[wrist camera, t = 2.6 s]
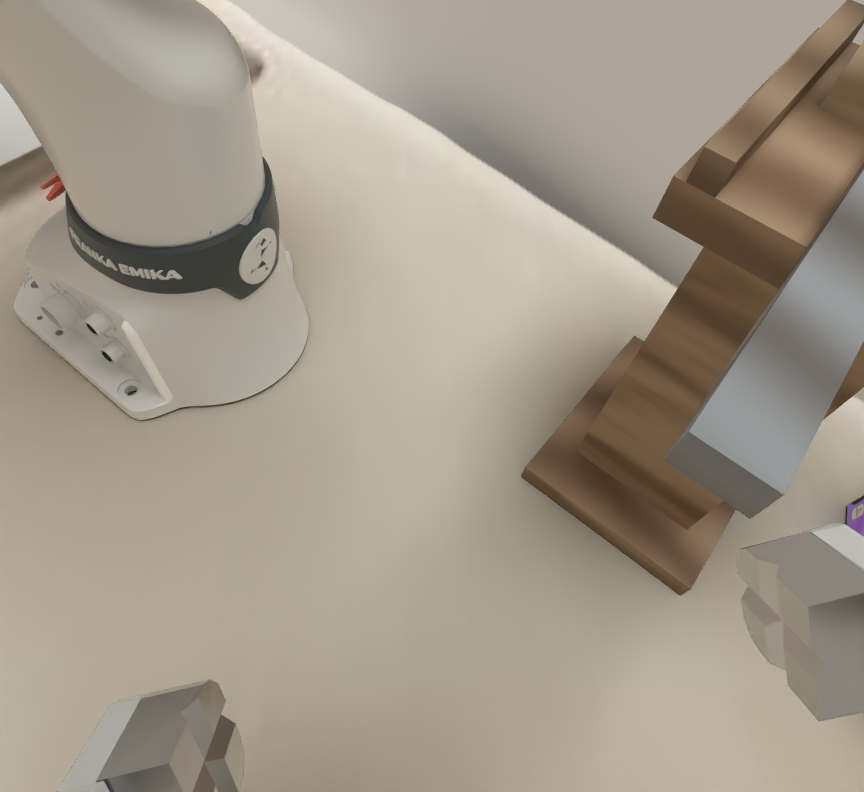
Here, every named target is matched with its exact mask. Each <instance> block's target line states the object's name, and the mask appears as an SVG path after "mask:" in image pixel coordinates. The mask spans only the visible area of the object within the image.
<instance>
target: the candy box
mask: <svg viewBox="0 0 864 792" xmlns="http://www.w3.org/2000/svg"><path fill="white" fill-rule="evenodd" d="M847 526H848V527H850V528H851V529H853V530H854V531H856V532H857V533H859V534H860V535H862V536H863V537H864V496H862V497H861V498H859V499H857V500H855V501H854V502H852V503H850V504H848V506H847Z"/></svg>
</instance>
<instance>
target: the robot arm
mask: <svg viewBox="0 0 864 792" xmlns="http://www.w3.org/2000/svg"><path fill="white" fill-rule="evenodd" d="M0 83H1V84H2V85H3V86H4V88H5V89H6V90H7V92H8V93H9V94H10V96H11V97H12V99H13V100H14V101H15V103H16V104H17V106H18V107H19V109H20V110H21V112H22V114H23V115H24V117H25V118H26V120H27V121H28V123H29V125H30V126H31V128H32V129H33V131H34V133H35V135H36V136H37V138H38V140H39V141H40V143H41V145H42V146H43V148H44V150H45V152H46V153H47V155H48V157H49V159H50V161H51V162H52V164H53V166H54V168H55V170H56V172H57V174H55V175H54V176H52V177H51V178H50V179H49V180H47V181H46V182H45V183H44V184H43V185H41V186H40V187H41V189H46V188H48V187H50V186H51V185H53V184H55V183H56V184H55V185H54V187H53V188H52V189H51V191H50V192H49V194H48V195H47V196H46V199H47V200H48V201H51V200H53V199H54V198H56V197H57V196H59V195H60V194H61V193H63V192H64V191H65V190H66V206H64V207H63V208H62V209H61V210H59V211H58V212H57V213H55V214H54V215H53V216H52V217H51V218H50V219H49V220H48V221H47V222H46V223H45V224H44V225H43V226H42V227H41V228H40V229H39V230H38V231H37V233H36V234H35V235H34V237H33V238H32V240H31V242H30V243H29V246H28V248H27V252H26V265H27V267H28V269H29V271H30V274H29V275H28V277H27V278H26V279H25V281H24V282H23V284H22V286H21V287H20V289H19V291H18V293H17V295H16V298H15V301H14V304H13V309H14V311H15V313H16V315H17V317H18V318H19V319H20V320H21V321H22V322H23V323H24V324H25V325H26V326H27V327H28V328H29V329H31V330H32V331H33V332H34V333H35V334H36V335H37V336H39V337H40V338H41V339H42V340H43V341H44V342H45V343H47V344H48V345H49V346H50V347H51V348H52V349H53V350H55V351H56V352H57V353H58V354H59V355H60V356H62V357H63V358H64V359H65V360H66V361H67V362H68V363H70V364H71V365H72V366H73V367H74V368H75V369H76V370H78V371H79V372H80V373H81V374H82V375H83V376H84V377H86V378H87V379H88V380H89V381H90V382H91V383H92V384H94V385H95V386H96V387H97V388H98V389H99V390H100V391H102V392H103V393H104V394H105V395H106V396H107V397H108V398H110V399H111V400H112V401H113V402H114V403H115V404H116V405H118V406H119V407H120V408H121V409H122V410H123V411H124V412H126V413H127V414H128V415H129V416H130V417H132V418H134V419H138V420H145V419H150V418H154V417H157V416H160V415H163V414H166V413H168V412H171V411H173V410H176V409H178V408H182V407H189V406H206V405H218V404H225V403H229V402H234V401H237V400H241V399H244V398H247V397H249V396H252V395H254V394H256V393H258V392H260V391H262V390H264V389H266V388H268V387H269V386H271V385H272V384H274V383H275V382H277V381H278V380H279V379H280V378H282V377H283V376H284V375H285V374H286V373H287V372H288V371H289V370H290V369H291V368H292V366H293V365H294V364H295V363H296V361H297V360H298V358H299V357H300V355H301V353H302V351H303V349H304V347H305V344H306V341H307V337H308V330H309V320H308V314H307V310H306V307H305V304H304V302H303V300H302V298H301V296H300V294H299V292H298V290H297V287H296V285H295V282H294V279H293V263H292V260H291V256H290V254H289V252H288V251H287V250H286V249H284V247H283V243H282V240H281V236H280V233H279V215H278V209H277V202H276V196H275V185H274V182H273V179H272V175H271V171H270V169H269V166H268V164H267V162H266V161H265V159H264V158H263V156H262V153H261V146H260V140H259V133H258V126H257V120H256V113H255V107H254V100H253V94H252V88H251V81H250V75H249V68H248V65H247V62H246V60H245V57H244V55H243V53H242V50H241V48H240V47H239V45H238V43H237V41H236V39H235V38H234V36H233V35H232V33H231V32H230V31H229V29H228V28H227V27H226V25H225V24H224V23H223V22H222V21H221V20H220V19H219V18H218V17H217V16H216V15H215V14H214V13H213V12H211V11H210V10H209V9H208V8H206V7H205V6H204V5H202V4H201V3H199V2H197V1H196V0H0ZM58 181H59V182H58ZM57 182H58V183H57ZM38 287H39V288H38ZM132 391H137V392H136V393H135V394H134V395H130V396H129V395H128V394H129V393H130V392H132ZM736 564H737V573H738V575H739V576H740V577H741V578H742V579H743V580H744V581H745V582H746V583H747V585H748V587H747V589H746V591H745V593H744V595H743V596H742V598H741V604H742V610H743V616H744V620H745V623H746V625H747V628H748V631H749V633H750V636H751V638H752V640H753V641H754V643H755V645H756V646H757V648H758V650H759V651H760V652H761V654H762V655H763V656H764V657H765V659H766V660H767V661H768V662H769V663H770V664H773V665H775V666H777V667H780V668H782V669H784V670H786V673H787V681H788V686H789V687H790V688H791V690H792V691H793V692H794V693H795V694H796V695H797V697H798V698H799V699H800V700H801V701H802V702H803V704H804V705H805V706H806V707H807V708H808V709H809V711H810V712H811V713H812V714H813V715H814V716H815V718H816V719H817V720H818V721H824V720H828V719H833V718H838V717H843V716H847V715H852V714H857V713H862V712H864V537H863V536H862V535H860V534H859V533H857V532H856V531H854V530H853V529H851V528H850V527H848V526H847V525H845V524H841V523H832V524H829V525H825V526H822V527H818V528H814V529H811V530H807V531H804V532H803V533H800V534H796V535H792V536H788V537H784V538H781V539H777V540H773V541H769V542H765V543H761V544H758V545H754V546H750V547H746V548H742V549H738V550H737V556H736ZM225 701H226V700H225V698H224V695H223V693H222V691H221V689H220V687H219V685H218V683H217V682H214V681H212V680H205V681H201V682H197V683H192V684H188V685H183V686H179V687H174V688H170V689H165V690H161V691H156V692H152V693H149V694H143V695H139V696H135V697H131V698H127V699H123V700H119V701H117V702H115V703H113V704H112V705H110V706H109V707H108V709H107V710H106V712H105V714H104V715H103V717H102V718H101V720H100V722H99V723H98V725H97V727H96V728H95V730H94V732H93V733H92V735H91V736H90V738H89V740H88V741H87V743H86V745H85V746H84V748H83V750H82V751H81V753H80V754H79V756H78V758H77V759H76V761H75V763H74V764H73V766H72V768H71V769H70V771H69V772H68V774H67V776H66V777H65V779H64V781H63V782H62V784H61V786H60V787H59V789H58V790H57V792H239V790H240V786H241V782H242V778H243V772H244V751H243V746H242V741H241V736H240V734H239V731H238V729H237V726H236V724H235V723H233V722H232V721H230V720H229V719H227V718H226V717H224V716H223V715H221V713H222V710H223V707H224V704H225Z"/></svg>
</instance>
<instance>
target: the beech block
mask: <svg viewBox="0 0 864 792" xmlns="http://www.w3.org/2000/svg"><path fill="white" fill-rule="evenodd" d="M819 108H821V109H823V110H825V111H827V112H829V113H831V114H833V115H836V116H838V117H840V118H842V119H844V120H846V121H848V122H850V123H853V124H855V125H857V126H859V127H861V128H863V129H864V41H863V42H862V44H861V45H860V47H859V48H858V50H857V51H856V53H855V54H854V56H853V57H852V59H851V60H850V62H849V63H848V65H847V66H846V68H845V69H844V71H843V72H842V74H841V75H840V77H839V78H838V80H837V81H836V83H835V84H834V86H833V87H832V89H831V90H830V92H829V93H828V95H827V96H826V98H825V99H824V101H823V102H822V104H821V105H820V107H819ZM863 342H864V163H863V165H862V166H861V168H860V169H859V171H858V172H857V174H856V175H855V177H854V178H853V180H852V181H851V183H850V184H849V186H848V187H847V189H846V190H845V192H844V193H843V195H842V196H841V197H840V199H839V200H838V202H837V203H836V205H835V206H834V208H833V209H832V211H831V212H830V214H829V215H828V217H827V218H826V220H825V221H824V223H823V224H822V226H821V227H820V229H819V230H818V232H817V233H816V234H815V236H814V237H813V239H812V240H811V242H810V243H809V245H808V246H807V248H806V249H805V251H804V252H803V254H802V255H801V257H800V258H799V260H798V261H797V263H796V264H795V266H794V267H793V268H792V270H791V271H790V273H789V274H788V276H787V277H786V279H785V280H784V282H783V283H782V285H781V286H780V288H779V289H778V291H777V292H776V294H775V295H774V297H773V298H772V300H771V301H770V303H769V304H768V305H767V307H766V308H765V310H764V311H763V313H762V314H761V316H760V317H759V319H758V320H757V322H756V323H755V325H754V326H753V328H752V329H751V331H750V332H749V334H748V335H747V337H746V338H745V339H744V341H743V342H742V344H741V345H740V347H739V348H738V350H737V351H736V353H735V354H734V356H733V357H732V359H731V360H730V362H729V363H728V365H727V366H726V368H725V369H724V371H723V372H722V374H721V375H720V376H719V378H718V379H717V381H716V382H715V384H714V385H713V387H712V388H711V390H710V391H709V393H708V394H707V396H706V397H705V399H704V400H703V402H702V403H701V405H700V406H699V408H698V409H697V410H696V412H695V413H694V415H693V416H692V418H691V419H690V421H689V422H688V424H687V425H686V427H685V428H684V430H683V431H682V433H681V434H680V436H679V437H678V439H677V440H676V442H675V443H674V445H673V446H672V447H671V449H670V450H669V452H668V453H667V455H666V456H665V458H664V459H663V460H665V461H666V462H668V463H669V464H671V465H672V466H674V467H675V468H677V469H678V470H680V471H681V472H682V473H684V474H685V475H687V476H688V477H690V478H691V479H693V480H694V481H696V482H697V483H699V484H700V485H701V486H703V487H704V488H706V489H707V490H709V491H710V492H712V493H713V494H715V495H716V496H718V497H719V498H720V499H722V500H723V501H725V502H726V503H728V504H729V505H731V506H732V507H734V508H735V509H737V510H738V511H739V512H741V513H742V514H744V515H745V516H747V517H748V518H752V517H753V516H755V515H756V514H757V513H759V512H760V511H762V510H763V509H765V508H766V507H767V506H769V505H770V504H772V503H773V502H774V501H776V500H777V499H779V498H780V497H782V496H783V495H784V494H785V492H786V490H787V488H788V486H789V484H790V482H791V480H792V478H793V476H794V474H795V473H796V471H797V469H798V467H799V465H800V463H801V461H802V459H803V457H804V455H805V453H806V451H807V449H808V448H809V446H810V444H811V442H812V440H813V438H814V436H815V434H816V432H817V430H818V428H819V426H820V424H821V422H822V421H823V419H824V417H825V415H826V413H827V411H828V409H829V407H830V405H831V403H832V401H833V399H834V397H835V395H836V394H837V392H838V390H839V388H840V386H841V384H842V382H843V380H844V378H845V376H846V374H847V372H848V370H849V369H850V367H851V365H852V363H853V361H854V359H855V357H856V355H857V353H858V351H859V349H860V347H861V345H862V343H863Z"/></svg>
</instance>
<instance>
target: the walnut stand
mask: <svg viewBox="0 0 864 792" xmlns="http://www.w3.org/2000/svg"><path fill="white" fill-rule="evenodd" d="M863 23H864V5H862V4H859V3H857V2H855V1H852V0H847V1H846V2H845V3H844V4H843V5H842V6H841V7H840V8H839V9H838V10H837V11H836V12H835V13H834V14H833V15H832V16H831V17H830V18H829V19H828V21H826V22H825V23H824V24H823V26H821V27H820V28H818V29H817V30H816V31H815V32H814V33H813V34H812V35H811V36H810V37H809V38H808V39H807V40H806V41H805V42H804V43H803V44H802V45H801V46H800V47H799V48H798V49H797V50H796V51H795V52H794V53H793V54H792V55H791V56H790V57H789V58H788V59H787V60H786V61H785V62H784V64H783V65H781V66H780V68H779V69H778V70H777V71H776V72H775V73H774V74H773V75H772V76H771V77H770V78H769V79H768V80H767V81H766V82H765V83H764V84H763V85H762V86H761V87H760V88H759V89H758V90H757V91H756V92H755V93H754V94H753V95H752V96H751V97H750V98H749V99H748V100H747V101H746V102H745V103H744V104H743V105H742V106H741V107H740V108H739V109H738V110H737V111H736V113H734V115H733V116H732V117H731V118H730V119H729V120H728V121H727V122H726V123H725V124H724V125H723V126H722V127H721V128H720V129H719V130H718V131H717V132H716V133H715V134H714V135H713V136H712V137H711V138H710V139H709V140H708V141H707V142H706V143H705V144H704V145H703V146H702V147H701V148H700V149H699V150H698V151H697V152H696V153H695V154H694V156H693V157H691V158H690V159H689V161H688V162H687V163H686V164H685V165H684V166H683V167H682V168H681V169H680V170H679V171H678V172H677V173H676V174H675V175H674V176H673V178H672V180H671V182H670V184H669V186H668V188H667V190H666V192H665V194H664V196H663V198H662V200H661V202H660V204H659V206H658V208H657V210H656V212H655V214H654V216H653V218H654V219H656V220H658V221H659V222H661V223H663V224H665V225H666V226H668V227H670V228H672V229H673V230H675V231H677V232H679V233H680V234H682V235H684V236H686V237H688V238H689V239H691V240H693V241H695V242H696V243H698V244H700V245H702V246H703V247H704V248H703V249H702V251H701V252H700V254H699V256H698V257H697V259H696V261H695V262H694V264H693V265H692V267H691V269H690V270H689V272H688V273H687V275H686V276H685V278H684V280H683V281H682V283H681V284H680V286H679V288H678V289H677V291H676V292H675V294H674V295H673V297H672V299H671V300H670V302H669V303H668V305H667V307H666V308H665V310H664V311H663V313H662V315H661V316H660V318H659V319H658V321H657V323H656V324H655V326H654V327H653V329H652V330H651V332H650V334H649V335H648V337H647V338H646V340H645V342H643V341H642V340H640V339H639V338H637V337H635V336H634V337H633V338H632V339H631V340H630V342H629V343H628V344H627V345H626V346H625V348H624V349H623V350H622V351H621V352H620V354H619V355H618V356H617V357H616V359H615V360H614V361H613V362H612V363H611V365H610V366H609V367H608V368H607V369H606V371H605V372H604V373H603V374H602V376H601V377H600V378H599V379H598V380H597V382H596V383H595V384H594V385H593V386H592V388H591V389H590V390H589V391H588V393H587V394H586V395H585V396H584V397H583V399H582V400H581V401H580V402H579V403H578V405H577V406H576V407H575V408H574V409H573V411H572V412H571V413H570V414H569V416H568V417H567V418H566V419H565V420H564V422H563V423H562V424H561V425H560V426H559V428H558V429H557V430H556V431H555V433H554V434H553V435H552V436H551V437H550V439H549V440H548V441H547V442H546V443H545V445H544V446H543V447H542V448H541V450H540V451H539V452H538V453H537V454H536V456H535V457H534V458H533V459H532V460H531V462H530V463H529V464H528V465H527V467H526V468H525V470H524V472H523V474H522V476H521V477H523V478H524V479H525V480H527V481H528V482H529V483H531V484H532V485H533V486H535V487H536V488H537V489H539V490H540V491H542V492H543V493H544V494H546V495H547V496H548V497H550V498H551V499H552V500H554V501H555V502H556V503H558V504H559V505H560V506H562V507H563V508H564V509H566V510H567V511H568V512H570V513H571V514H572V515H574V516H575V517H576V518H578V519H579V520H580V521H582V522H583V523H584V524H586V525H587V526H588V527H590V528H591V529H592V530H594V531H595V532H596V533H598V534H599V535H600V536H602V537H603V538H604V539H606V540H607V541H608V542H610V543H611V544H612V545H614V546H615V547H616V548H618V549H619V550H620V551H622V552H623V553H625V554H626V555H627V556H629V557H630V558H631V559H633V560H634V561H635V562H637V563H638V564H639V565H641V566H642V567H643V568H645V569H646V570H647V571H649V572H650V573H651V574H653V575H654V576H655V577H657V578H658V579H659V580H661V581H662V582H663V583H665V584H666V585H667V586H669V587H670V588H671V589H673V590H674V591H675V592H677V593H678V594H679V595H682V594H684V593H685V592H687V591H688V590H690V589H691V588H692V586H693V584H694V582H695V581H696V579H697V577H698V575H699V573H700V572H701V570H702V568H703V566H704V565H705V563H706V561H707V559H708V557H709V556H710V554H711V552H712V550H713V549H714V547H715V545H716V543H717V541H718V540H719V538H720V536H721V534H722V533H723V531H724V529H725V527H726V525H727V524H728V522H729V520H730V518H731V517H732V515H733V513H734V511H735V508H734V507H732V506H731V505H729V504H728V503H726V502H725V501H723V500H722V499H720V498H719V497H718V496H716V495H715V494H713V493H712V492H710V491H709V490H707V489H706V488H704V487H703V486H701V485H700V484H699V483H697V482H696V481H694V480H693V479H691V478H690V477H688V476H687V475H685V474H684V473H682V472H681V471H680V470H678V469H677V468H675V467H674V466H672V465H671V464H669V463H668V462H666V461H665V460H663V459H664V458H665V456H666V455H667V453H668V452H669V450H670V449H671V447H672V446H673V445H674V443H675V442H676V440H677V439H678V437H679V436H680V434H681V433H682V431H683V430H684V428H685V427H686V425H687V424H688V422H689V421H690V419H691V418H692V416H693V415H694V413H695V412H696V410H697V409H698V408H699V406H700V405H701V403H702V402H703V400H704V399H705V397H706V396H707V394H708V393H709V391H710V390H711V388H712V387H713V385H714V384H715V382H716V381H717V379H718V378H719V376H720V375H721V374H722V372H723V371H724V369H725V368H726V366H727V365H728V363H729V362H730V360H731V359H732V357H733V356H734V354H735V353H736V351H737V350H738V348H739V347H740V345H741V344H742V342H743V341H744V339H745V338H746V337H747V335H748V334H749V332H750V331H751V329H752V328H753V326H754V325H755V323H756V322H757V320H758V319H759V317H760V316H761V314H762V313H763V311H764V310H765V308H766V307H767V305H768V304H769V303H770V301H771V300H772V298H773V297H774V295H775V294H776V292H777V291H778V289H779V288H780V286H781V285H782V283H783V282H784V280H785V279H786V277H787V276H788V274H789V273H790V271H791V270H792V268H793V267H794V266H795V264H796V263H797V261H798V260H799V258H800V257H801V255H802V254H803V252H804V251H805V249H806V248H807V246H808V245H809V243H810V242H811V240H812V239H813V237H814V236H815V234H816V233H817V232H818V230H819V229H820V227H821V226H822V224H823V223H824V221H825V220H826V218H827V217H828V215H829V214H830V212H831V211H832V209H833V208H834V206H835V205H836V203H837V202H838V200H839V199H840V197H841V196H842V195H843V193H844V192H845V190H846V189H847V187H848V186H849V184H850V183H851V181H852V180H853V178H854V177H855V175H856V174H857V172H858V171H859V169H860V168H861V166H862V165H863V163H864V129H863V128H861V127H859V126H857V125H855V124H853V123H850V122H848V121H846V120H844V119H842V118H840V117H838V116H836V115H833V114H831V113H829V112H827V111H825V110H823V109H821V108H819V107H820V105H821V104H822V102H823V101H824V99H825V98H826V96H827V95H828V93H829V92H830V90H831V89H832V87H833V86H834V84H835V83H836V81H837V80H838V78H839V77H840V75H841V74H842V72H843V71H844V69H845V68H846V66H847V65H848V63H849V62H850V60H851V59H852V57H853V56H854V54H855V53H856V51H857V50H858V48H859V47H860V45H858V44H855V43H853V42H852V41H853V39H854V38H855V36H856V35H857V33H858V31H859V30H860V28H861V27H862V25H863ZM863 387H864V342H863V343H862V345H861V347H860V349H859V351H858V353H857V355H856V357H855V359H854V361H853V363H852V365H851V367H850V369H849V370H848V372H847V374H846V376H845V378H844V380H843V382H842V384H841V386H840V388H839V390H838V392H837V394H836V395H835V397H834V399H833V401H832V403H831V405H830V407H829V409H828V411H827V413H826V415H825V417H824V419H825V418H826V417H827V416H829V415H830V414H831V413H832V412H834V411H835V410H836V409H837V408H839V407H840V406H841V405H842V404H843V403H845V402H846V401H847V400H848V399H850V398H851V397H852V396H853V395H855V394H856V393H857V392H858V391H859V390H861V389H862V388H863ZM824 419H823V420H824Z"/></svg>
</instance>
